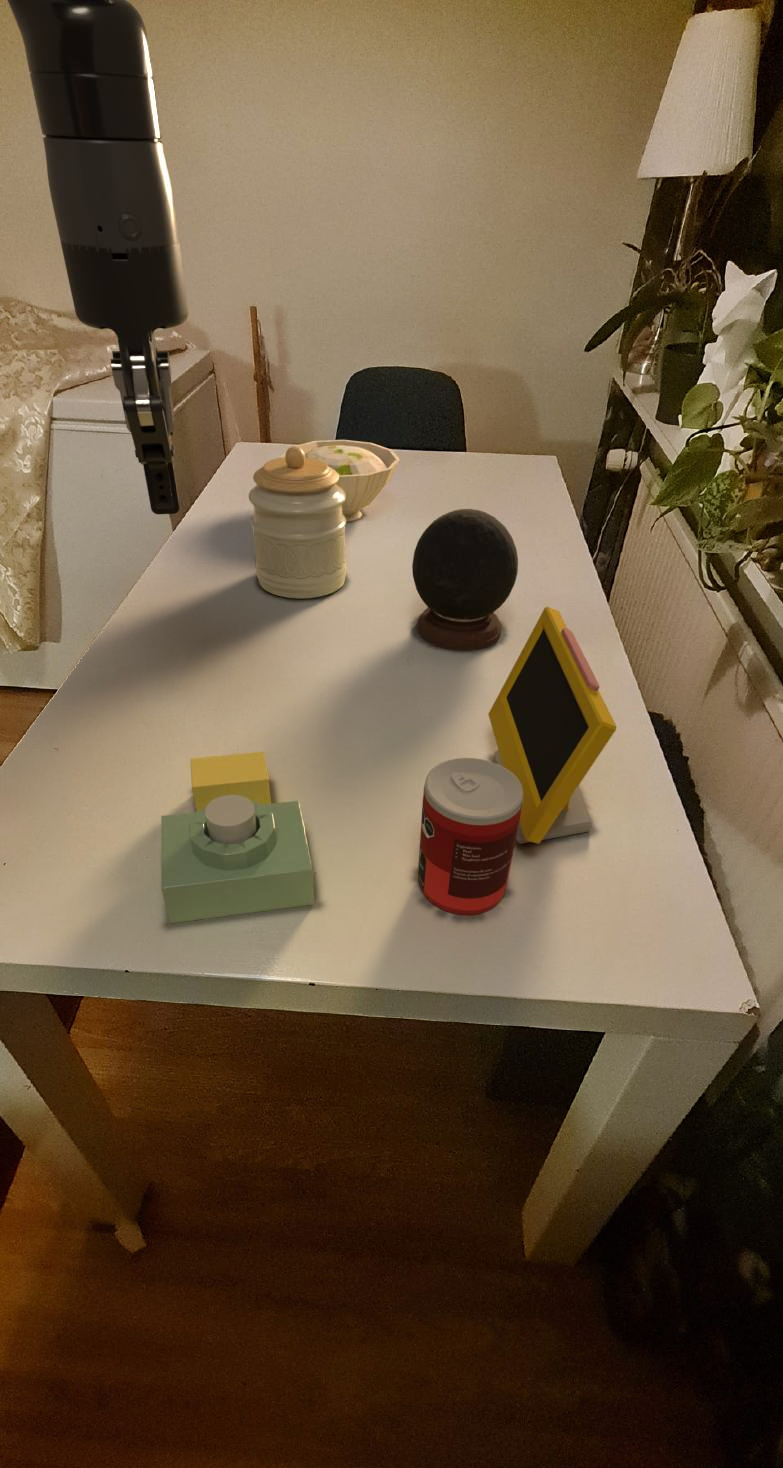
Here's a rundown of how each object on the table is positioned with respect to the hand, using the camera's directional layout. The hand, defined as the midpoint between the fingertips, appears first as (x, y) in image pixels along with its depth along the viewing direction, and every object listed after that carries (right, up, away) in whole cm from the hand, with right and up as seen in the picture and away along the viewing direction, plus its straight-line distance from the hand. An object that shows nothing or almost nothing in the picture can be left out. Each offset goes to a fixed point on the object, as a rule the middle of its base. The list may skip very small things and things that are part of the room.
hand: (166, 510), depth 62 cm
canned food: (+24, -31, +6) cm, 39 cm away
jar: (+5, +13, +49) cm, 51 cm away
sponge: (+3, -22, +13) cm, 26 cm away
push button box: (+5, -30, +6) cm, 31 cm away
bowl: (+10, +31, +69) cm, 76 cm away
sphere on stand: (+27, +3, +40) cm, 48 cm away
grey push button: (+5, -26, +2) cm, 26 cm away
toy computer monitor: (+33, -22, +15) cm, 42 cm away
